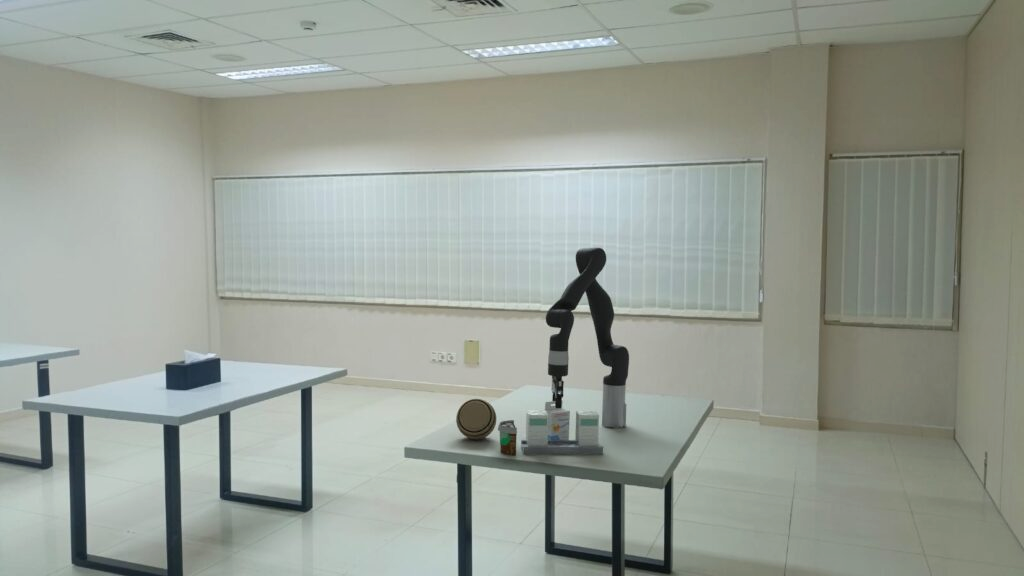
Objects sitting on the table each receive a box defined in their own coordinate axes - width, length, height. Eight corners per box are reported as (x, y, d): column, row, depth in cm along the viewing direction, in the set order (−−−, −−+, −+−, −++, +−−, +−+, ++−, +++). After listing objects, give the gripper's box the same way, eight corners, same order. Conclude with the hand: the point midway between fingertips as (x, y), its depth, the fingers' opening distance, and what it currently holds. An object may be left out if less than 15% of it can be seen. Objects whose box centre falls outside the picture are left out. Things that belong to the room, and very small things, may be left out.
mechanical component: (448, 437, 277) (449, 397, 277) (480, 432, 286) (481, 393, 286) (470, 446, 265) (471, 404, 265) (503, 440, 275) (504, 400, 274)
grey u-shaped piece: (597, 446, 268) (598, 410, 268) (603, 454, 259) (604, 416, 258) (521, 446, 266) (521, 409, 266) (523, 454, 256) (524, 415, 256)
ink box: (551, 444, 271) (552, 404, 270) (543, 441, 275) (544, 401, 274) (569, 441, 276) (570, 402, 275) (561, 438, 280) (562, 399, 279)
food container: (496, 447, 265) (496, 419, 264) (513, 447, 265) (513, 419, 265) (498, 456, 252) (499, 427, 252) (516, 456, 253) (516, 428, 252)
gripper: (571, 365, 267) (569, 409, 268) (565, 360, 281) (563, 402, 282) (550, 365, 267) (549, 409, 267) (546, 359, 281) (544, 401, 282)
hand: (556, 405), depth 275 cm, fingers open, 8 cm apart
